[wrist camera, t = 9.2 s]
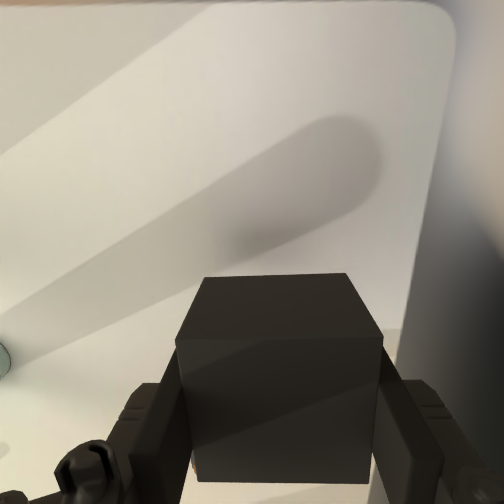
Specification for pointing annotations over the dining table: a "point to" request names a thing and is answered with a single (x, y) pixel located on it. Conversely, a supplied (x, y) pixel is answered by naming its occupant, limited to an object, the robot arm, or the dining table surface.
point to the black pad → (280, 379)
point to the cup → (4, 362)
